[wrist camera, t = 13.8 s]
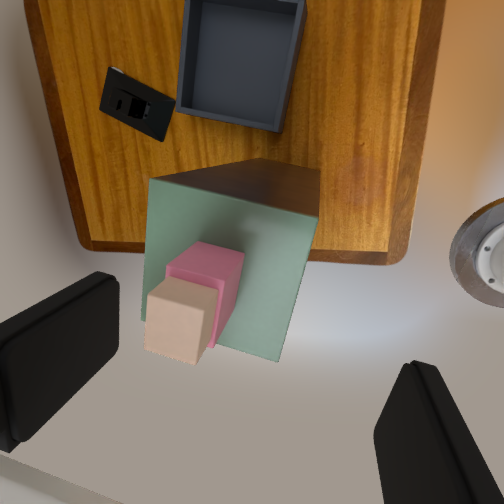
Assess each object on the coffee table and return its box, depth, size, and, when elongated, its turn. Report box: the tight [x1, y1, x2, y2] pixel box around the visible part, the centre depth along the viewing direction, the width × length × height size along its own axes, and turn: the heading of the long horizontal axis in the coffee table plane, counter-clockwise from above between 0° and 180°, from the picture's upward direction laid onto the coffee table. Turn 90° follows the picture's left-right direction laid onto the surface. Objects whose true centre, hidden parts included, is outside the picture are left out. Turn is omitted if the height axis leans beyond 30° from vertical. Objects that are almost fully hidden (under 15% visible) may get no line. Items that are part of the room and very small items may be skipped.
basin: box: [175, 0, 307, 134], centre depth 42 cm, size 16×16×5 cm
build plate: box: [99, 67, 176, 142], centre depth 48 cm, size 12×7×5 cm, turn 65°
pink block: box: [144, 241, 245, 365], centre depth 16 cm, size 3×4×6 cm
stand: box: [141, 158, 320, 362], centre depth 34 cm, size 10×10×34 cm
